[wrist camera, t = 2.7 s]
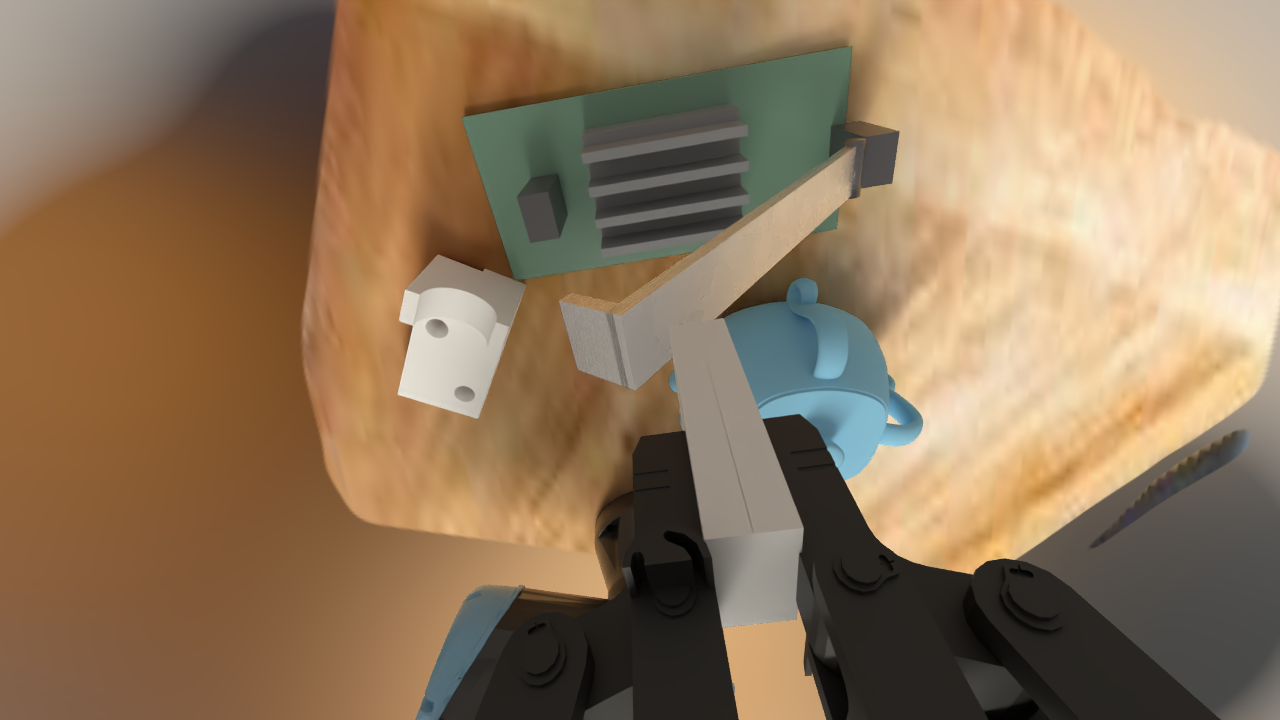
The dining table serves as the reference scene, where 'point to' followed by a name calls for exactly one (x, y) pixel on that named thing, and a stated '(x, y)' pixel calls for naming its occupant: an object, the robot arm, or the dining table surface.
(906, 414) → the decorative pot
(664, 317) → the strap
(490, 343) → the bracket
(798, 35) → the dining table surface
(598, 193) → the heatsink board
